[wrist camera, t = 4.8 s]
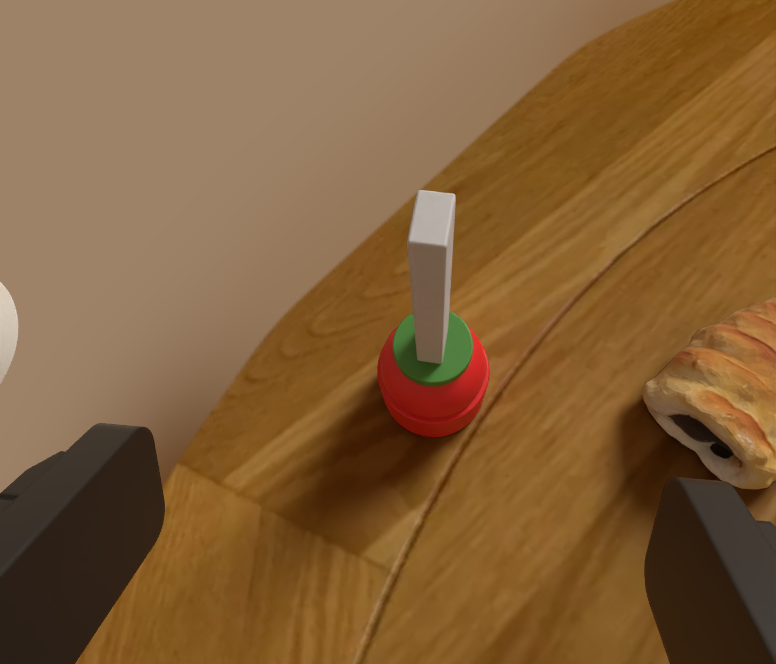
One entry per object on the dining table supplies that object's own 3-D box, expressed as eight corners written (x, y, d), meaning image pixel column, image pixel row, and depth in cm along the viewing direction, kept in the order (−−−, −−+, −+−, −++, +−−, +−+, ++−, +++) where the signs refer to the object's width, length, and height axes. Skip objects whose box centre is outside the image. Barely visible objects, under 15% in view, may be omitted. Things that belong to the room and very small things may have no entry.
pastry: (744, 279, 30) (787, 241, 26) (867, 371, 28) (932, 343, 24) (624, 403, 28) (652, 381, 24) (746, 512, 26) (797, 505, 22)
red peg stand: (373, 428, 28) (311, 293, 14) (392, 333, 30) (354, 127, 16) (476, 445, 28) (522, 324, 13) (490, 347, 29) (543, 146, 15)
